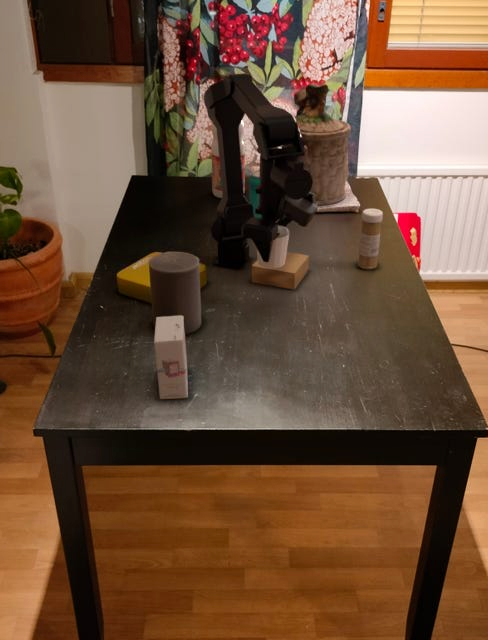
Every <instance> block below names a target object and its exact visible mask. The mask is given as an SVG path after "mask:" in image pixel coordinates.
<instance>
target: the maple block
mask: <svg viewBox="0 0 488 640" xmlns="http://www.w3.org/2000/svg"><path fill="white" fill-rule="evenodd" d="M309 256H310V255H308V254H303V253H302V254H301V253H296V252H290V251H287V253H286V260H285V264H284V265H283V266H282V267H279V268H266V267H263V266H260V265H259V264H258V259H257V260H256V261H254V263H253V264H252V265H251V283H257V284H261V285H266V286H270V287H271V286H273V287H277V288H281V289H282V288H283V289H288V290H295V289H296V288H297V287H298V286H299V284H300V282H301V281H302V280H303V279H304V277H305V276H306V275H307V273H308V272H309V258H310V257H309Z"/></svg>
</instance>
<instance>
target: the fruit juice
mask: <svg viewBox="0 0 488 640" xmlns="http://www.w3.org/2000/svg"><path fill="white" fill-rule="evenodd" d="M210 129H211V133H212V140H211V147H210V148H211V150H210V152H211V153H210V154H211V190H212V195H213V196H215V197H216V198H219V199H222V197H223V194H222V183H221V172H220V160H219V149H218V138H217V129H216V127H215V126H214V124H213V123H212V122H211V128H210ZM244 132H245V123H244V121H243V119H242V121H241V123H240V126H239V139H240V152H241V164H242V177H243V190H244V192H245V190H246V185H245V184H246V183H245V180H246V179H245V177H246V174H245V173H246V172H245V171H246V161H245V160H246V147H245V141H244V138H243V137H244Z"/></svg>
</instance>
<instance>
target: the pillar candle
mask: <svg viewBox="0 0 488 640" xmlns="http://www.w3.org/2000/svg"><path fill="white" fill-rule="evenodd" d="M161 253H162V254H158V255H156V256H154V257H152V258H151V259H150V261H149V273H150V287H151V301H152V304H151V313H152V324H153V328H154V329H155V326H156V317H164V316H179V315H182V316H183V317H184V331H185V335H188V334H189V335H190V334H192V333H194V332H196V331H197V330H199V328H200V327H201V326H202V300H201V299H202V297H201V289H200V273H199V263H200V258H199V257H198V256H196V255H194V254H192V253H189V252H183V251H165V252H161Z"/></svg>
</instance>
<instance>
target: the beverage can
mask: <svg viewBox="0 0 488 640" xmlns="http://www.w3.org/2000/svg"><path fill="white" fill-rule="evenodd" d="M259 176H260V169H259V170H253V171H252V172H250V178H249V204H252V206H253V214H254V217H256V218H261V217H262V216H261V215H260V214H255V209H256V208H257V207H258V206H259V194H256V188H257V187H258V186H259Z"/></svg>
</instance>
